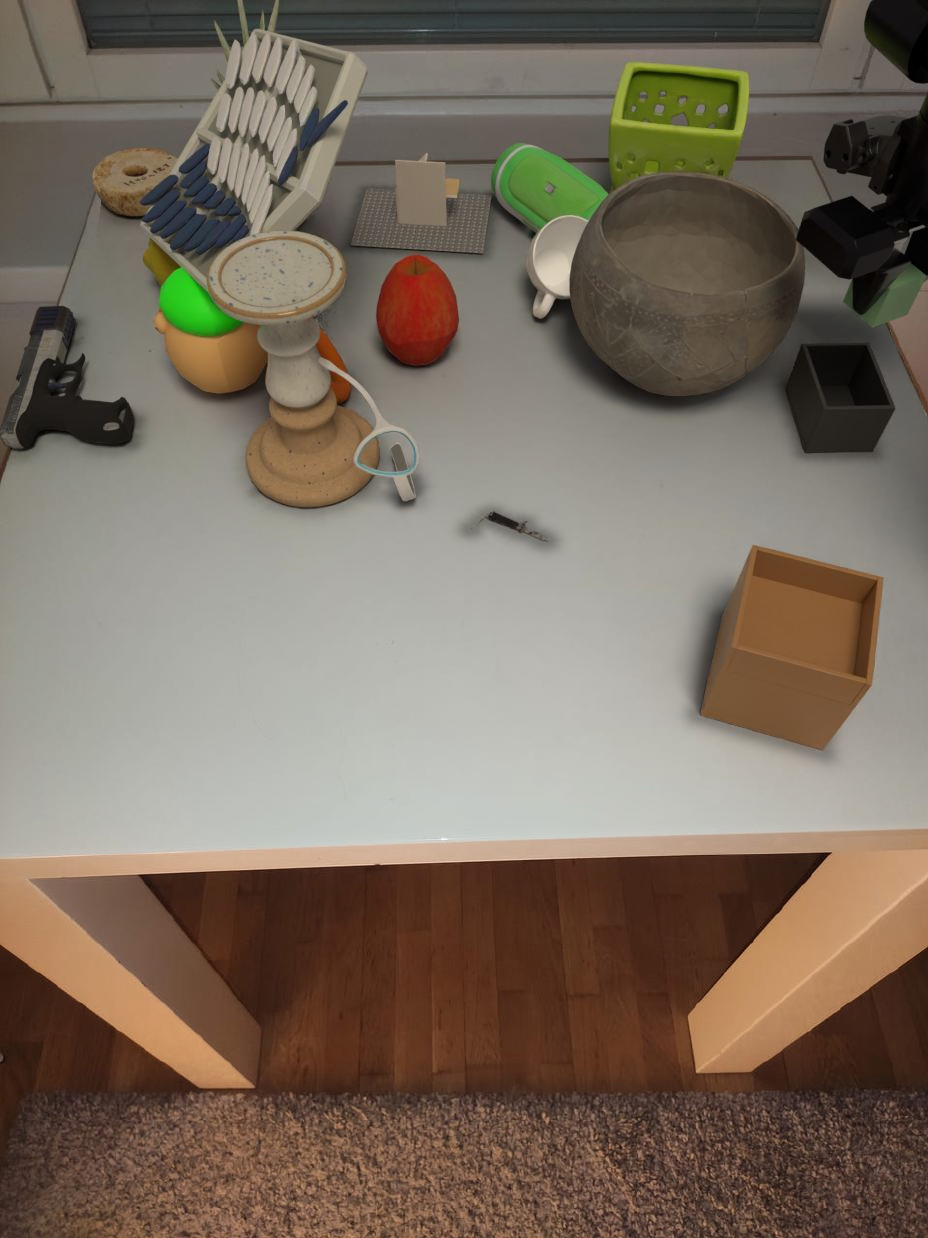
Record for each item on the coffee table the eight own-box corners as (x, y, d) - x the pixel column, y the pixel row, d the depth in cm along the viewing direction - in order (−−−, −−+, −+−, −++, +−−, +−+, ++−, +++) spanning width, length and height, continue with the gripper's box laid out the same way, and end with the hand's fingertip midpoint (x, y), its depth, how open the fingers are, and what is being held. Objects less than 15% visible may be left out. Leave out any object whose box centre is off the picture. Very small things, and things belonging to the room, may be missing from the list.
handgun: (130, 449, 86) (1, 456, 85) (155, 318, 97) (41, 324, 96) (120, 425, 83) (-13, 432, 83) (147, 293, 94) (29, 299, 94)
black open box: (873, 451, 85) (896, 408, 81) (804, 453, 85) (824, 409, 81) (849, 386, 90) (869, 341, 85) (784, 387, 90) (801, 343, 85)
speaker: (628, 195, 93) (578, 254, 94) (648, 235, 99) (600, 289, 101) (522, 123, 101) (476, 178, 102) (546, 164, 107) (503, 215, 109)
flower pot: (725, 180, 110) (753, 69, 99) (716, 249, 102) (745, 136, 92) (610, 166, 111) (625, 55, 101) (592, 232, 104) (607, 120, 93)
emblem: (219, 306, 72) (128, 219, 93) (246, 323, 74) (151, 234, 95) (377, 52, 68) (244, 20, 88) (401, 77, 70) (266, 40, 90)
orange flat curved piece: (333, 362, 93) (232, 255, 82) (347, 353, 93) (246, 244, 81) (346, 424, 87) (239, 318, 76) (361, 415, 87) (254, 307, 76)
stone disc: (204, 195, 109) (158, 166, 113) (196, 164, 106) (149, 135, 110) (129, 230, 104) (84, 198, 109) (118, 199, 101) (73, 167, 106)
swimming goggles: (310, 363, 72) (375, 338, 71) (320, 352, 80) (379, 330, 79) (377, 525, 77) (438, 502, 77) (380, 500, 85) (436, 480, 84)
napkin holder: (401, 205, 107) (397, 143, 101) (460, 209, 107) (459, 146, 100) (397, 223, 105) (393, 160, 99) (457, 226, 105) (456, 163, 98)
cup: (597, 248, 98) (619, 237, 92) (559, 336, 99) (578, 331, 93) (534, 214, 96) (552, 200, 90) (496, 304, 97) (511, 297, 91)
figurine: (297, 366, 92) (276, 262, 82) (238, 426, 87) (209, 323, 77) (208, 330, 95) (177, 225, 85) (146, 386, 90) (106, 282, 80)
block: (877, 288, 78) (895, 249, 75) (907, 314, 76) (927, 275, 73) (842, 301, 77) (858, 262, 74) (872, 328, 75) (890, 289, 72)
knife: (537, 559, 79) (553, 534, 80) (537, 557, 78) (553, 531, 80) (471, 529, 80) (487, 505, 82) (471, 527, 80) (487, 502, 81)
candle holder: (313, 393, 89) (278, 202, 73) (407, 452, 85) (392, 262, 68) (219, 465, 84) (157, 277, 67) (314, 531, 80) (273, 347, 63)
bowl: (813, 372, 91) (868, 236, 78) (663, 466, 84) (697, 334, 71) (666, 269, 100) (694, 133, 88) (519, 346, 93) (527, 210, 81)
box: (836, 650, 73) (883, 577, 65) (823, 750, 68) (872, 685, 60) (721, 619, 75) (752, 544, 67) (700, 715, 70) (731, 646, 62)
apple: (474, 361, 92) (475, 268, 83) (402, 389, 90) (394, 297, 81) (436, 315, 96) (433, 222, 87) (365, 341, 94) (355, 248, 85)
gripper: (980, 36, 70) (899, 222, 83) (782, 94, 65) (729, 281, 78) (1094, 106, 64) (988, 293, 77) (887, 173, 60) (811, 360, 73)
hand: (877, 304), depth 76 cm, fingers closed on block, 4 cm apart
